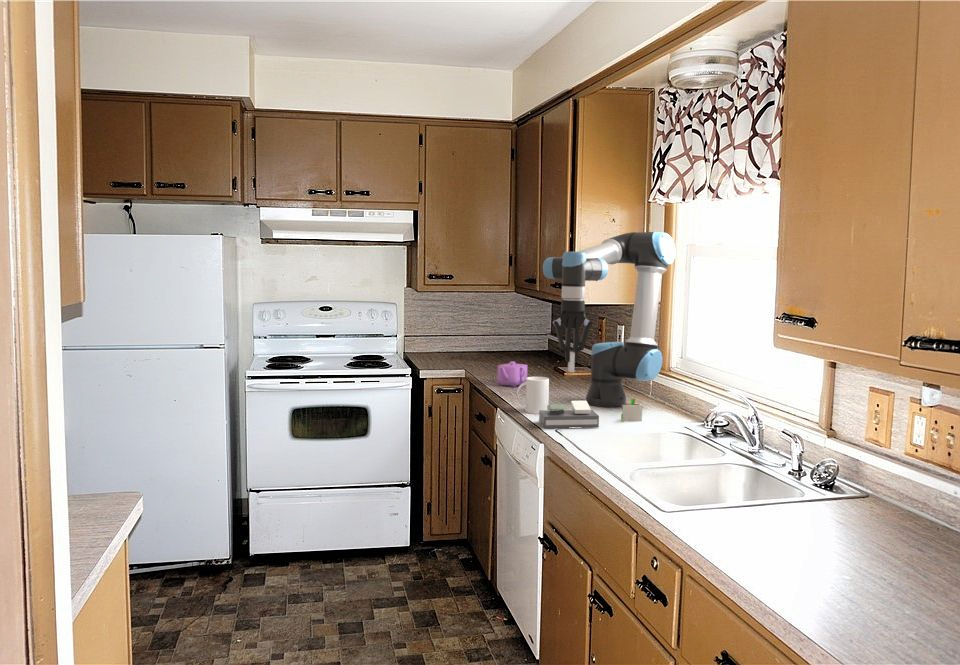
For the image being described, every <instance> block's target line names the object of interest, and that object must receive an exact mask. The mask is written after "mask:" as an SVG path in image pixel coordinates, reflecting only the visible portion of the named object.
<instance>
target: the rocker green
mask: <svg viewBox="0 0 960 665" xmlns="http://www.w3.org/2000/svg"><path fill="white" fill-rule="evenodd" d="M567 406H568V405H567V404H549V405H548V406H547V410H568V407H567Z"/></svg>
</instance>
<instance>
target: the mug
mask: <svg viewBox="0 0 960 665" xmlns="http://www.w3.org/2000/svg"><path fill="white" fill-rule="evenodd" d="M524 386H525V400H522V399H521V398H520V396H519V391H520V389H521V388H522V387H524ZM549 388H550V379H549V377H545V376H527V378H526V382H524V383H522V384H521V385H518V387H517V390H516V396H517V399H518V401H519V402H520V403H521V404H523V405H525V412H526V413H527V414H534V415H539V410H547V406H548V405H550V404H549V400H550V399H549V398H550V396H549V394H550V393H549V392H550V391H549V390H550V389H549Z"/></svg>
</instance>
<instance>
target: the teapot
mask: <svg viewBox="0 0 960 665" xmlns="http://www.w3.org/2000/svg"><path fill="white" fill-rule="evenodd" d="M526 378H528V364H523V363H516V361H511V360H510V361H509V363H504V364H499V365H497V380H496V381H497V385H502V386H503V387H504V386H505V387H506V386H509V387H510V386H511V387H512V388H517V386H520V385H521V384H522V383H524V382H526Z"/></svg>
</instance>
